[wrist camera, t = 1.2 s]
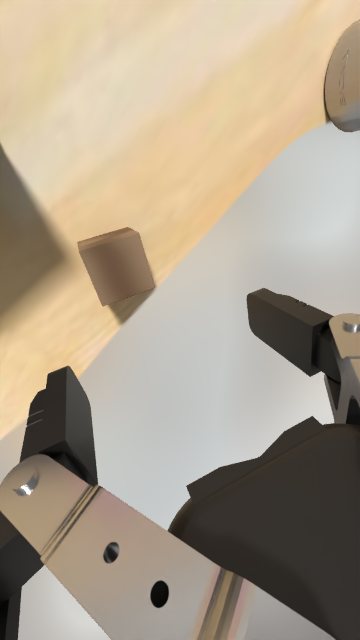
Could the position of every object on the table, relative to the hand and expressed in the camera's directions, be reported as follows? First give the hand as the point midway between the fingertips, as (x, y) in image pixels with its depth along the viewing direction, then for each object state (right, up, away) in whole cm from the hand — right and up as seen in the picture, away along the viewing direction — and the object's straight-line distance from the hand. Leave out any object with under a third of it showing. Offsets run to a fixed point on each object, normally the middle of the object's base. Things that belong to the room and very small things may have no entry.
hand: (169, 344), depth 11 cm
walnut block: (-6, +7, +15) cm, 18 cm away
